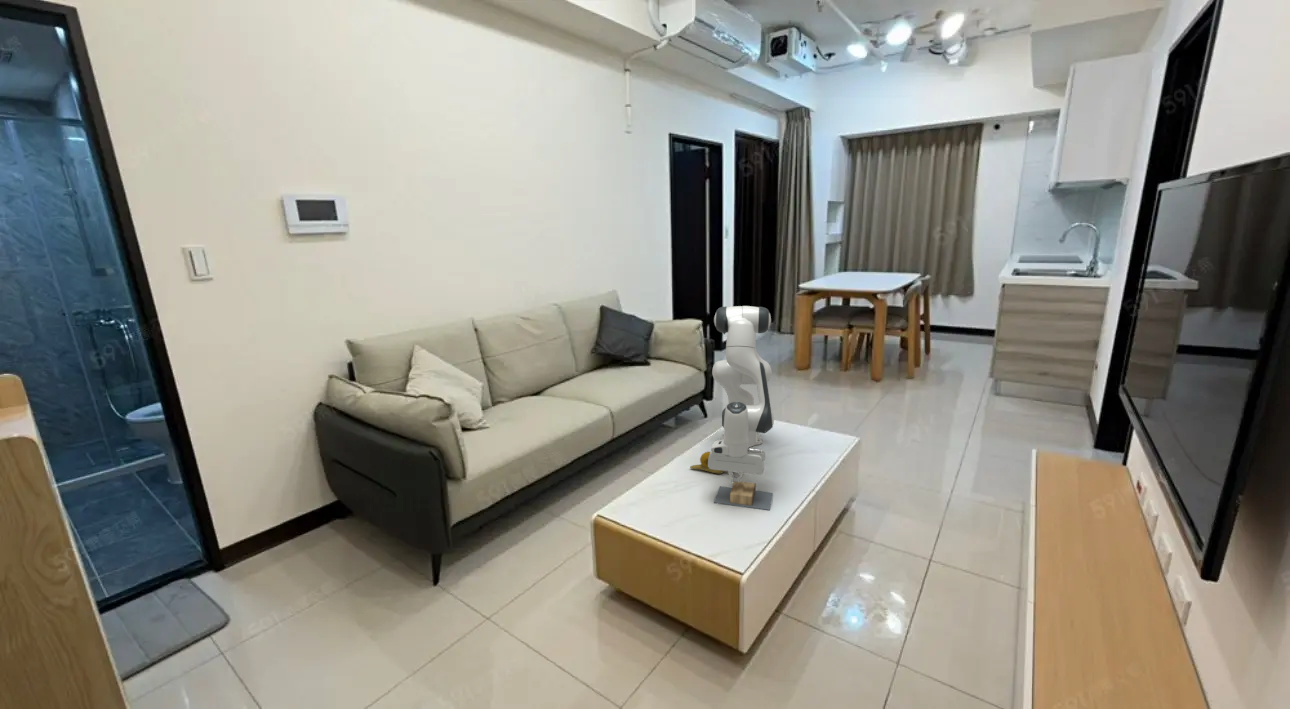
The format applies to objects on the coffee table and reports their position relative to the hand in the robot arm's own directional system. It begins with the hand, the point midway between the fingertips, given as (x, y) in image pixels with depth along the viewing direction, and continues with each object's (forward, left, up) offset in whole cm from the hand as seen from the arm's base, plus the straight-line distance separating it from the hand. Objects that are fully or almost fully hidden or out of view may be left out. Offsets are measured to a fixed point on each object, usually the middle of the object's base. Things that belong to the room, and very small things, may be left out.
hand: (735, 481), depth 194 cm
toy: (-18, -11, -7) cm, 22 cm away
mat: (0, +3, -6) cm, 7 cm away
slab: (0, -1, -4) cm, 4 cm away
